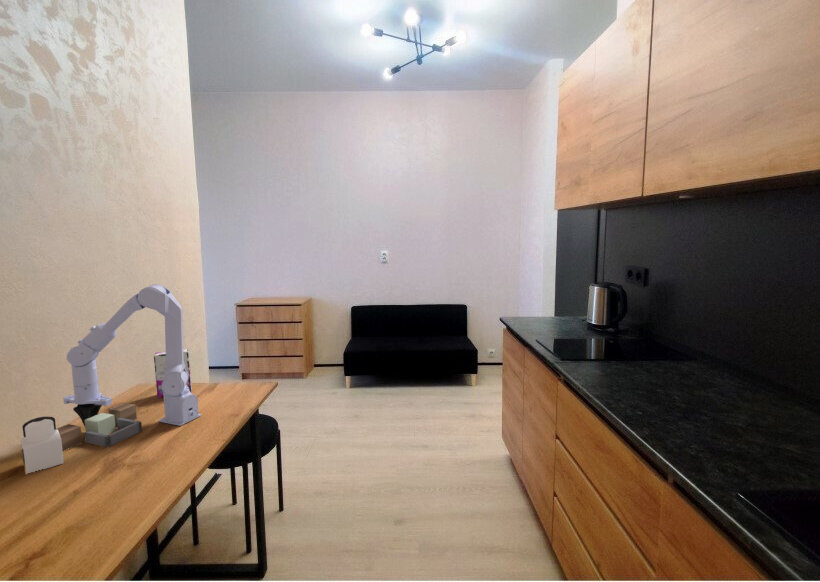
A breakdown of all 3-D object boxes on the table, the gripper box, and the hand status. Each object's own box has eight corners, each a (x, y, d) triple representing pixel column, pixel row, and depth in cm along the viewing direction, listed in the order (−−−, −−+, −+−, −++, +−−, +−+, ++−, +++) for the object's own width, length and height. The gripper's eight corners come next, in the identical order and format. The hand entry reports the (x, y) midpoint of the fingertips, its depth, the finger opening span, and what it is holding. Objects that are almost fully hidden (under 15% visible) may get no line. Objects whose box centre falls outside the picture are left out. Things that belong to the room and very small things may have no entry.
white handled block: (23, 464, 100) (18, 420, 99) (60, 453, 105) (55, 411, 104) (25, 475, 95) (19, 429, 94) (64, 463, 100) (59, 419, 99)
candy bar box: (192, 388, 152) (189, 348, 150) (191, 393, 148) (188, 351, 146) (158, 393, 147) (155, 351, 145) (156, 398, 143) (153, 355, 141)
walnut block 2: (136, 419, 126) (135, 404, 125) (121, 426, 121) (119, 410, 121) (125, 417, 127) (124, 402, 127) (110, 423, 123) (108, 408, 122)
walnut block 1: (82, 443, 111) (80, 426, 110) (62, 451, 106) (60, 434, 106) (70, 440, 112) (68, 424, 112) (49, 448, 108) (48, 431, 107)
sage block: (115, 430, 118) (114, 414, 118) (98, 438, 113) (97, 422, 113) (103, 428, 119) (101, 412, 119) (86, 436, 115) (84, 419, 114)
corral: (142, 431, 118) (141, 421, 117) (107, 447, 108) (106, 437, 108) (120, 426, 121) (119, 417, 120) (85, 442, 111) (84, 432, 111)
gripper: (119, 380, 119) (123, 422, 120) (77, 378, 121) (82, 419, 122) (97, 388, 112) (102, 433, 113) (54, 386, 114) (59, 430, 115)
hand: (90, 426), depth 117 cm, fingers closed
